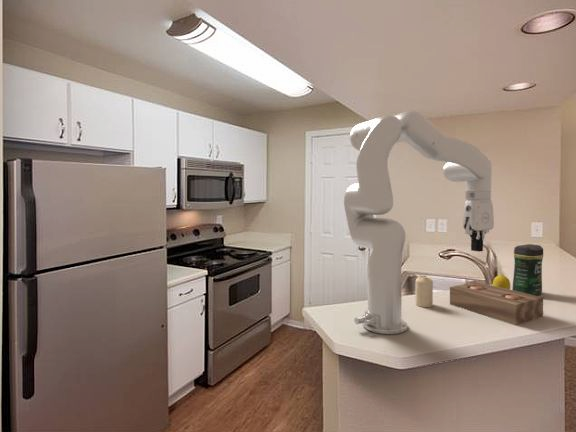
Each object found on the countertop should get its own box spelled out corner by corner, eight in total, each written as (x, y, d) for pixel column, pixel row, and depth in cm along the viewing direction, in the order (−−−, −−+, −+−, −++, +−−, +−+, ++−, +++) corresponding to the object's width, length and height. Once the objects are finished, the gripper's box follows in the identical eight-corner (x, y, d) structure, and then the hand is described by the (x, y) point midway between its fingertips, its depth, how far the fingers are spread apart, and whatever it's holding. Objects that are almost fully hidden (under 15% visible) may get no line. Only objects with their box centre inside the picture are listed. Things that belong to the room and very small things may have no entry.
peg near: (515, 317, 106) (515, 299, 105) (502, 314, 109) (502, 296, 109) (522, 315, 107) (523, 297, 107) (509, 311, 111) (510, 294, 111)
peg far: (478, 306, 116) (478, 290, 116) (467, 303, 120) (467, 287, 120) (485, 304, 118) (486, 288, 118) (474, 301, 122) (475, 285, 121)
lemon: (498, 298, 126) (499, 276, 125) (489, 294, 131) (489, 273, 131) (513, 298, 126) (514, 276, 125) (503, 293, 131) (504, 272, 131)
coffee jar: (530, 298, 125) (532, 247, 124) (508, 292, 132) (509, 244, 131) (546, 294, 129) (547, 244, 128) (524, 289, 136) (525, 242, 135)
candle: (434, 307, 117) (434, 278, 116) (416, 307, 118) (416, 278, 118) (430, 302, 122) (430, 274, 122) (414, 302, 124) (414, 274, 123)
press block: (515, 325, 101) (515, 304, 100) (449, 304, 120) (449, 287, 120) (542, 316, 107) (543, 297, 107) (476, 298, 127) (476, 281, 126)
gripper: (473, 196, 110) (472, 254, 111) (503, 196, 117) (501, 250, 118) (453, 196, 117) (452, 251, 118) (481, 196, 123) (480, 247, 124)
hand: (476, 250), depth 118 cm, fingers closed
